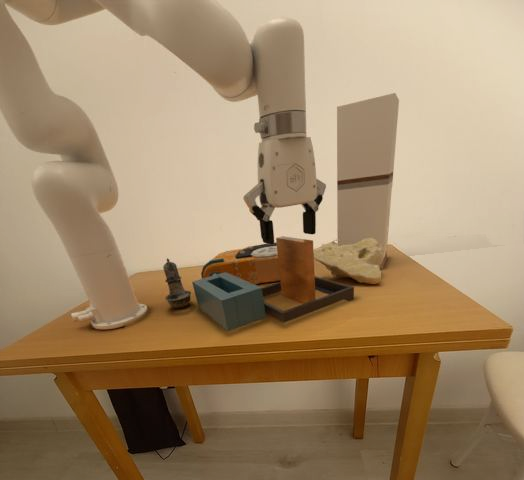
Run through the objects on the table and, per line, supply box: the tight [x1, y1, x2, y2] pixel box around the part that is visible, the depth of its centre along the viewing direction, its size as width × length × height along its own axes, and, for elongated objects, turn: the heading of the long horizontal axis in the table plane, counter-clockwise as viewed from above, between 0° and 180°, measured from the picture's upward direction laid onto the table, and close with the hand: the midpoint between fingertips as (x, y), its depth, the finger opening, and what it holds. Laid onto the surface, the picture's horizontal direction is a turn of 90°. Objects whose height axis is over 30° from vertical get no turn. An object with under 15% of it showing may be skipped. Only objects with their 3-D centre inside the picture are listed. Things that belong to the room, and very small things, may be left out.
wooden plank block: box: [275, 236, 317, 304], centre depth 61 cm, size 10×2×12 cm, turn 31°
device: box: [200, 242, 280, 285], centre depth 83 cm, size 23×8×30 cm
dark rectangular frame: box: [261, 275, 355, 323], centre depth 63 cm, size 18×16×3 cm
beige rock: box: [313, 238, 384, 285], centre depth 71 cm, size 15×7×15 cm
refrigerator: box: [336, 92, 400, 270], centre depth 73 cm, size 11×11×35 cm
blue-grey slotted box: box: [191, 272, 267, 332], centre depth 61 cm, size 8×16×7 cm, turn 31°
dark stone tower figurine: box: [162, 257, 192, 310], centre depth 66 cm, size 6×6×12 cm
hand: (289, 238), depth 57 cm, fingers open, 9 cm apart
